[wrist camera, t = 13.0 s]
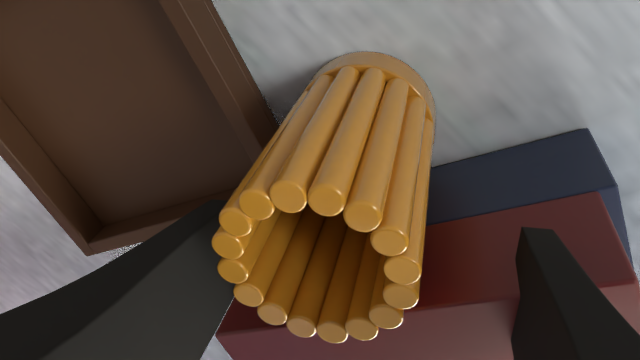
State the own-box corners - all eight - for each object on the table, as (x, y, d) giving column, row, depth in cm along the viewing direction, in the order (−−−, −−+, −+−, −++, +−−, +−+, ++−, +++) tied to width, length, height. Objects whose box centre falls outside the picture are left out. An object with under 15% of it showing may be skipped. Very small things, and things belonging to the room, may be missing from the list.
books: (366, 368, 22) (340, 512, 17) (271, 209, 18) (201, 337, 13) (635, 347, 17) (706, 535, 12) (588, 127, 13) (665, 276, 8)
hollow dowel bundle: (464, 316, 9) (337, 141, 7) (293, 361, 11) (169, 231, 9) (461, 140, 14) (389, 22, 13) (350, 191, 16) (277, 94, 15)
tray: (109, 233, 21) (86, 257, 19) (-66, 15, 17) (-111, 27, 15) (306, 177, 16) (293, 203, 15) (138, -136, 12) (101, -137, 11)
